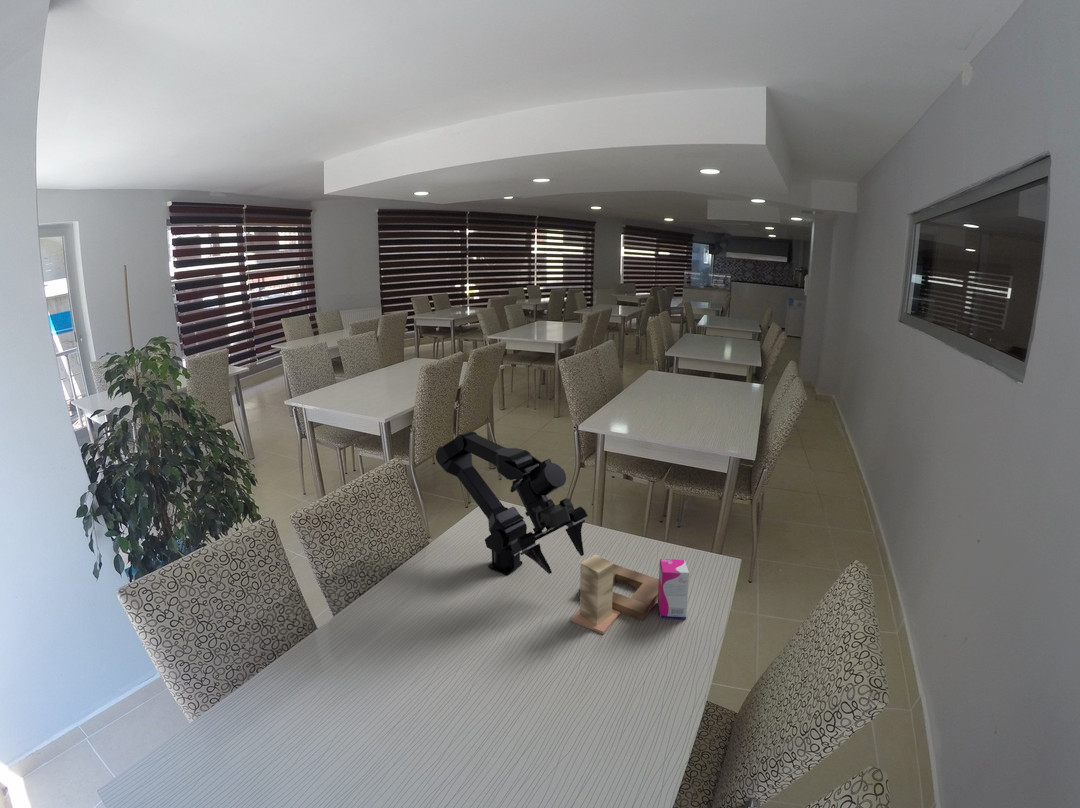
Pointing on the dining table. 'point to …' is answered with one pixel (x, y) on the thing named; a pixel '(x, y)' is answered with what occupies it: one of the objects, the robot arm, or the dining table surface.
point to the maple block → (596, 589)
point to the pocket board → (640, 599)
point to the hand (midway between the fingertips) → (566, 564)
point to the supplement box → (673, 588)
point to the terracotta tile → (599, 628)
